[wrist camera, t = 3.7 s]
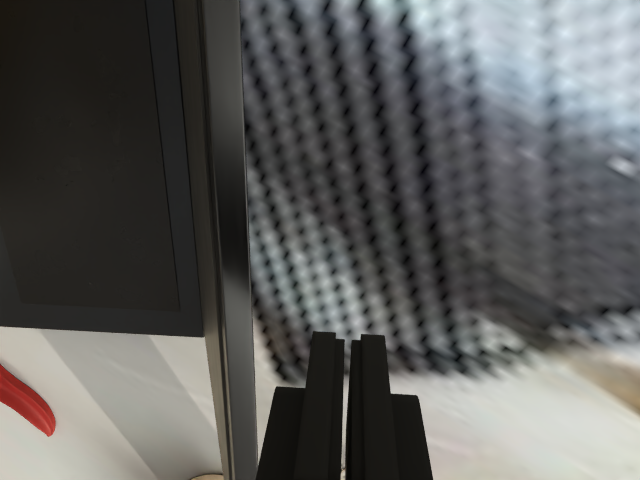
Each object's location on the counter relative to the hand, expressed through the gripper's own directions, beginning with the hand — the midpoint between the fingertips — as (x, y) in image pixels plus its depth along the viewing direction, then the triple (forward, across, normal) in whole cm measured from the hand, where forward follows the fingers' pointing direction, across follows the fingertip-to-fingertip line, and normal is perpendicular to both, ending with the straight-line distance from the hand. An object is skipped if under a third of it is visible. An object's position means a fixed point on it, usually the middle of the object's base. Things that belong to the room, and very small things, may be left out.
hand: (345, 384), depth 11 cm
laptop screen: (+12, +7, 0) cm, 14 cm away
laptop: (+23, +21, 0) cm, 32 cm away
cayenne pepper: (+24, +29, +23) cm, 44 cm away
